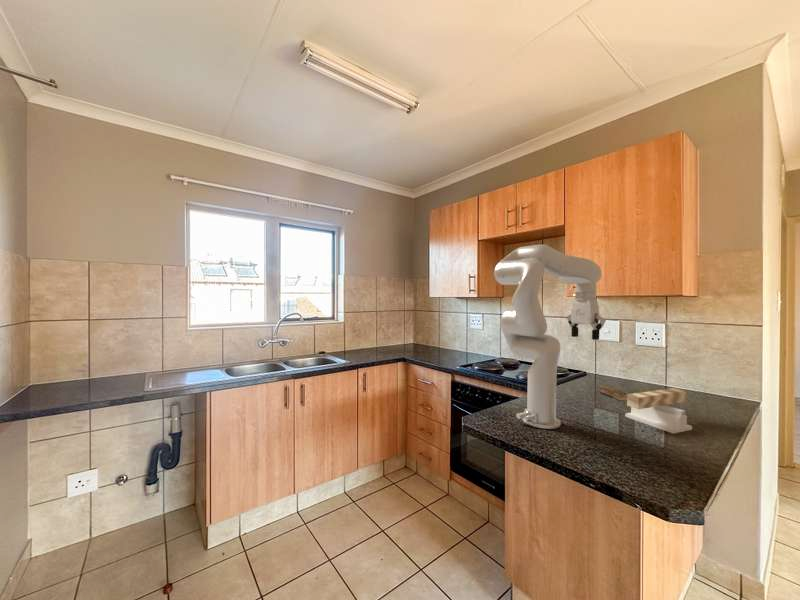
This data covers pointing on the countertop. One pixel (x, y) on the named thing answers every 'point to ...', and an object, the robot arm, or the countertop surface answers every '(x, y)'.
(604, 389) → the wooden fragment
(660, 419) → the ridge stand
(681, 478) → the countertop surface
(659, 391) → the birch rod
